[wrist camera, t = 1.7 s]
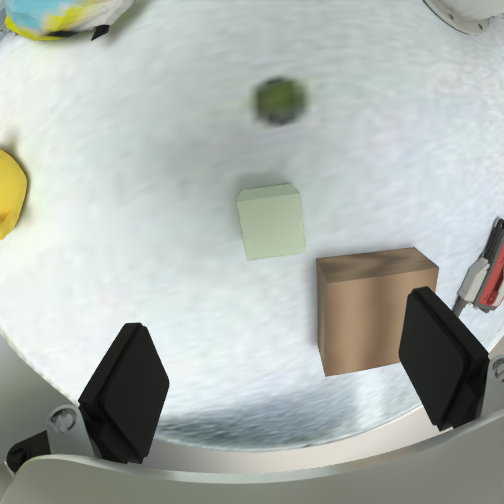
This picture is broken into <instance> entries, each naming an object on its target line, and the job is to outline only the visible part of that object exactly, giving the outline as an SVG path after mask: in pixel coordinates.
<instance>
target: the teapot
mask: <svg viewBox="0 0 504 504" xmlns="http://www.w3.org/2000/svg"><path fill="white" fill-rule="evenodd" d="M26 189H27V180H26V176H25V174H24V172H23V171H22V169H21V168H20V166H19V165H18V164H17V162H16V161H15V160H14V159H13V158H12V157H11V156H10V155H9V154H7V153H6V152H4V151H2V150H1V149H0V240H2V239H4V238H5V237H6V235H7V234H9V233H10V232H11V231H12V230H13V228H14V227H15V225H16V223H17V221H18V218H19V215H20V212H21V209H22V205H23V202H24V198H25V194H26Z"/></svg>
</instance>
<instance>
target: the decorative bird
mask: <svg viewBox="0 0 504 504" xmlns="http://www.w3.org/2000/svg"><path fill="white" fill-rule="evenodd" d="M133 2H135V0H5V9H6V13H7V16H6V20H5V23H4V25H2V26H1V27H0V31H1V32H3V33H5V34H6V32H5V31H3V30H2V29H3V28H4V27H7V28H8V29H10V31H9V33H10V32H11V31H14V32H15V36H17V33H18V34H20V35H22V36H24V37H26V38H29V39H31V40H34V41H39V40H58V39H62V38H66V37H70V36H72V35H74V34H77V33H79V32H83V31H87V30H91V29H94V31H95V32H94V34H93V37H92V39H91V41H92V40H94V39H96V38H98V37H100V36H102V35H104V34H106V33H108V30H109V26H110V25H112V24H113V23H114V22H115V21H116V20H117V19H118V18H119V17H120V16H121V15H122V14H123V13H124V12H125V11H127V10H128V9H129V8H130V7H131V5H132V4H133Z"/></svg>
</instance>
